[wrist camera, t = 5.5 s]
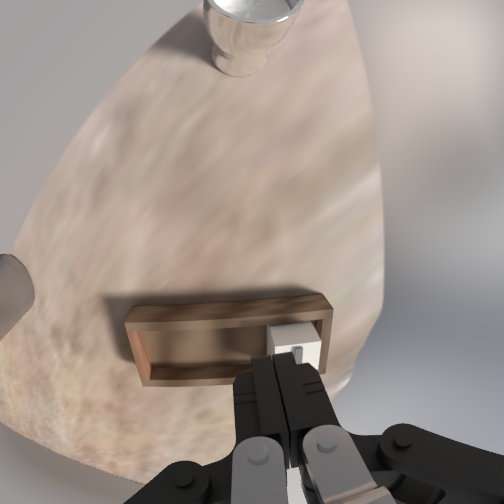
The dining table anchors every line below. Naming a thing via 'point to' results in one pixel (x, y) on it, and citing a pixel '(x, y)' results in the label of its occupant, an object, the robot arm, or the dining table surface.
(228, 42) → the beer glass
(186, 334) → the wooden tray
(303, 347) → the slider block
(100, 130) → the dining table surface
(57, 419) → the dining table surface
